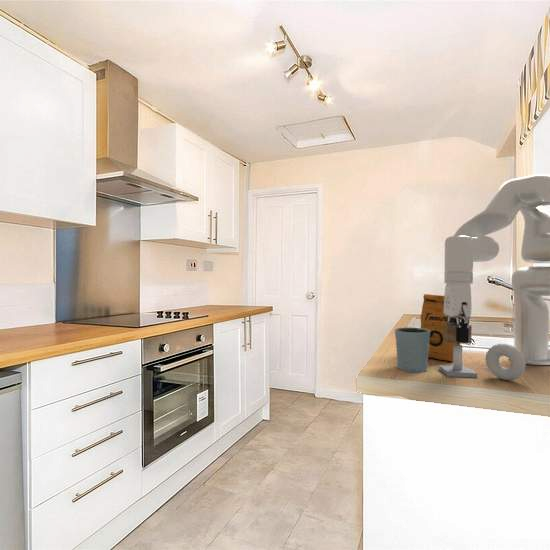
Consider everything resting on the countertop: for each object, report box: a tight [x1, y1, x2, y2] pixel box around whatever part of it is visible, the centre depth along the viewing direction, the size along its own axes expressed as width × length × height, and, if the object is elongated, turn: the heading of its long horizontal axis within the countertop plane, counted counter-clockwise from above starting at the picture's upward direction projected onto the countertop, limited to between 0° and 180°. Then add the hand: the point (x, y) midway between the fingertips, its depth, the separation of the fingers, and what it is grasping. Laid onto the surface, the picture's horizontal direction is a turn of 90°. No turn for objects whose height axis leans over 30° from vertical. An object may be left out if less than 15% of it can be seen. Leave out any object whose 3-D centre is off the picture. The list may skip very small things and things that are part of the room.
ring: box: [444, 323, 472, 345], centre depth 112 cm, size 7×7×5 cm
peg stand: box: [438, 344, 479, 378], centre depth 112 cm, size 8×8×8 cm
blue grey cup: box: [394, 326, 430, 373], centre depth 117 cm, size 10×10×12 cm
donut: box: [485, 343, 527, 381], centre depth 106 cm, size 10×4×10 cm, turn 37°
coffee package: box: [420, 293, 461, 363], centre depth 132 cm, size 10×12×22 cm
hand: (457, 339), depth 112 cm, fingers closed on ring, 6 cm apart
